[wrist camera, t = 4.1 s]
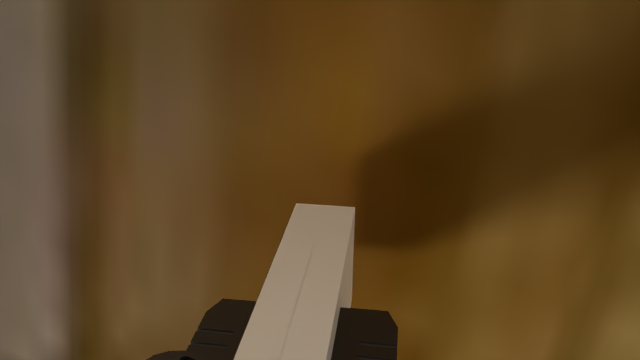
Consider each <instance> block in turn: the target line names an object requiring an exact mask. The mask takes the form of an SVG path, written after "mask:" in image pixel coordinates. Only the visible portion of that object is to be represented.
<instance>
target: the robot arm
mask: <svg viewBox="0 0 640 360" xmlns="http://www.w3.org/2000/svg"><path fill="white" fill-rule="evenodd" d="M354 226H355V207H346V206H331V205H316V204H301V203H296V205H295V207H294V210H293V212H292V215H291V217H290V220H289V222H288V225H287V227H286V230H285V232H284V235H283V237H282V240H281V242H280V245H279V247H278V250H277V252H276V255H275V257H274V260H273V262H272V265H271V267H270V270H269V272H268V275H267V277H266V280H265V282H264V285H263V287H262V290H261V292H260V295H259V297H258V300H257V302H255V301H244V300H232V299H222V300H221V301H219V302H218V303H217V304H216V305H214V306H213V307H212V308H211V309H209V310H208V311H207V312H206V313H205V315H204V317H203V319H202V321H201V323H200V325H199V327H198V331H196V333H195V335H194V337H193V339H192V340H191V345H189V346H188V348H187V350H186V351H168V352H164V353H160V354H157V355H153V356H152V357H150V358H148V359H146V360H397V332H398V327H397V326H396V324H395V322H394V321H393V319H392V317H391V315H390V314H389V312H388V311H378V310H367V309H355V308H351V302H352V283H353V254H354Z"/></svg>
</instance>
